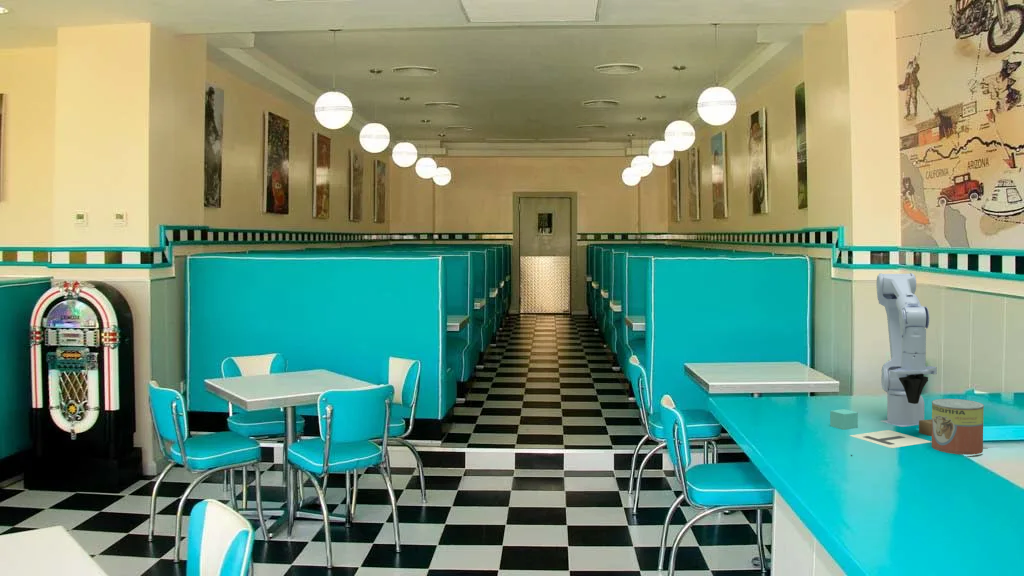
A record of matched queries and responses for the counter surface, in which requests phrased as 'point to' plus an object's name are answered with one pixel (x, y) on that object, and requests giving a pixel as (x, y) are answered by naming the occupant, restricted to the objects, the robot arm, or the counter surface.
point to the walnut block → (925, 427)
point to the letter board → (890, 438)
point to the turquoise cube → (844, 419)
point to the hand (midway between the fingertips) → (913, 403)
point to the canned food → (957, 426)
